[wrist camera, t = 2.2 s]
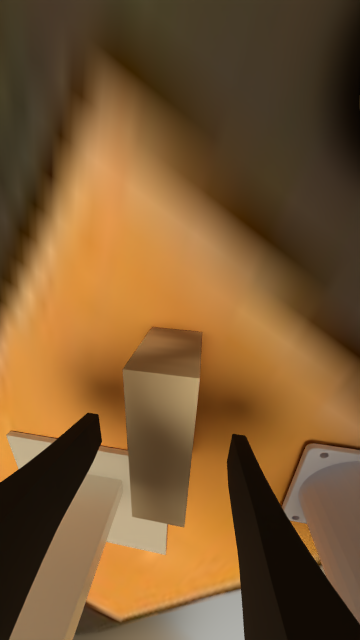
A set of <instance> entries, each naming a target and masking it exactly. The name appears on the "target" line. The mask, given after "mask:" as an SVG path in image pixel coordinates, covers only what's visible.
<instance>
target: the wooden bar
mask: <svg viewBox="0 0 360 640" xmlns="http://www.w3.org/2000/svg"><path fill="white" fill-rule="evenodd" d="M201 347H202V332H198V331H187V330H177V329H167V328H157V327H152V328H151V329H150V330H149V332H148V333H147V335H146V336H145V338H144V339H143V341H142V342H141V344H140V345H139V346H138V348H137V349H136V351H135V352H134V354H133V355H132V357H131V358H130V359H129V361H128V362H127V364H126V365H125V367H124V368H123V381H124V397H125V413H126V428H127V444H128V460H129V476H130V491H131V507H132V517H135V518H140V519H145V520H150V521H155V522H160V523H165V524H170V525H175V526H180V527H184V525H185V515H186V506H187V496H188V487H189V477H190V468H191V458H192V449H193V439H194V430H195V420H196V411H197V401H198V392H199V383H200V367H201Z"/></svg>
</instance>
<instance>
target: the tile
mask: <svg viewBox="0 0 360 640" xmlns="http://www.w3.org/2000/svg"><path fill="white" fill-rule="evenodd" d="M122 494H123V485H122V480H117V479H112V478H106V477H101V476H95V475H90V474H87V475H86V476H85V478H84V480H83V482H82V484H81V486H80V488H79V489H78V491H77V493H76V495H75V497H74V498H73V500H72V502H71V504H70V506H69V508H68V509H67V511H66V513H65V515H64V517H63V519H62V521H61V523H60V525H59V527H58V529H57V531H56V533H55V535H54V537H53V540H52V542H51V544H50V546H49V548H48V550H47V553H46V555H45V557H44V559H43V561H42V564H41V566H40V568H39V571H38V573H37V575H36V577H35V580H34V582H33V584H32V586H31V589H30V591H29V593H28V596H27V598H26V600H25V603H24V605H23V608H22V610H21V612H20V615H19V617H18V619H17V622H16V624H15V626H14V629H13V631H12V634H11V636H10V639H9V640H73V637H74V634H75V631H76V628H77V625H78V622H79V619H80V616H81V613H82V611H83V608H84V605H85V602H86V599H87V596H88V593H89V590H90V587H91V584H92V581H93V578H94V576H95V573H96V570H97V567H98V564H99V561H100V558H101V555H102V552H103V549H104V546H105V544H106V541H107V538H108V535H109V532H110V529H111V526H112V523H113V520H114V517H115V514H116V511H117V509H118V506H119V503H120V500H121V497H122Z"/></svg>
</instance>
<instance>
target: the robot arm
mask: <svg viewBox="0 0 360 640" xmlns="http://www.w3.org/2000/svg"><path fill="white" fill-rule="evenodd" d="M101 442H102V438H101V431H100V423H99V416H98V414H92V413H87V414H86V415H85V416H84V417H82V418H81V419H80V420H79V421H78V422H77V423H75V424H74V425H73V426H72V427H71V428H70V429H68V430H67V431H66V432H65V433H64V434H62V435H61V436H60V437H59V438H58V439H56V440H55V441H54V442H53V443H52V444H50V445H49V446H48V447H47V448H46V449H44V450H43V451H42V452H41V453H39V454H38V455H37V456H35V457H34V458H33V459H32V460H30V461H29V462H28V463H26V464H25V465H24V466H23V467H21V468H20V469H19V470H17V471H16V472H14V473H13V474H12V475H10V476H9V477H8V478H6V479H5V480H3V481H2V482H0V640H9V639H10V636H11V634H12V631H13V629H14V626H15V624H16V622H17V619H18V617H19V615H20V612H21V610H22V608H23V605H24V603H25V600H26V598H27V596H28V593H29V591H30V589H31V586H32V584H33V582H34V580H35V577H36V575H37V573H38V571H39V568H40V566H41V564H42V561H43V559H44V557H45V555H46V553H47V550H48V548H49V546H50V544H51V542H52V540H53V537H54V535H55V533H56V531H57V529H58V527H59V525H60V523H61V521H62V519H63V517H64V515H65V513H66V511H67V509H68V508H69V506H70V504H71V502H72V500H73V498H74V497H75V495H76V493H77V491H78V489H79V488H80V486H81V484H82V482H83V480H84V478H85V476H86V475H87V473H88V471H89V469H90V467H91V465H92V463H93V461H94V459H95V457H96V454H97V452H98V450H99V447H100V445H101ZM227 470H228V487H229V494H230V501H231V508H232V515H233V522H234V529H235V536H236V543H237V550H238V559H239V569H240V582H241V594H242V607H243V622H244V636H245V640H360V450H356V449H349V448H342V447H335V446H329V445H322V444H315V443H312V444H308V445H307V446H306V447H305V449H304V452H303V455H302V457H301V460H300V462H299V465H298V467H297V470H296V472H295V475H294V477H293V480H292V482H291V485H290V487H289V490H288V492H287V495H286V497H285V500H284V502H283V505H282V507H281V505H280V503H279V502H278V500H277V498H276V496H275V494H274V493H273V491H272V489H271V487H270V485H269V483H268V481H267V480H266V478H265V476H264V474H263V472H262V470H261V468H260V466H259V464H258V462H257V460H256V458H255V456H254V453H253V451H252V449H251V447H250V445H249V442H248V440H247V438H246V436H243V435H236V434H232V439H231V444H230V449H229V454H228V459H227ZM290 521H296V522H301V523H306V524H307V525H308V527H309V530H310V533H311V536H312V538H313V541H314V544H315V547H316V549H317V552H318V555H319V558H320V560H321V563H322V566H323V569H324V571H325V574H326V576H325V574H324V573H323V572H322V570H321V569H320V567H319V566H318V564H317V563H316V561H315V560H314V558H313V557H312V555H311V554H310V552H309V551H308V549H307V547H306V546H305V544H304V543H303V541H302V540H301V538H300V537H299V535H298V533H297V532H296V530H295V529H294V527H293V525H292V524H291V522H290Z"/></svg>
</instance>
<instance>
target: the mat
mask: <svg viewBox="0 0 360 640" xmlns="http://www.w3.org/2000/svg"><path fill="white" fill-rule="evenodd" d="M6 436H7V439H8V441H9V444H10V447H11V449H12V452H13V455H14V458H15V460H16V463H17V466H18V468H19V469H20V468H21V467H23V466H24V465H25V464H26V463H28V462H29V461H30V460H32V459H33V458H34V457H35V456H37V455H38V454H39V453H41V452H42V451H43V450H44V449H46V448H47V447H48V446H49V445H50V444H52V443H53V442H54V441H55V440H56V438H50V437H44V436H38V435H32V434H26V433H20V432H14V431H10V432H9V433H8V434H7V435H6ZM87 474H90V475H95V476H101V477H106V478H112V479H117V480H122V485H123V494H122V497H121V500H120V503H119V506H118V509H117V511H116V514H115V517H114V520H113V523H112V526H111V529H110V532H109V535H108V538H107V541H106V542H109V543H114V544H119V545H123V546H128V547H132V548H137V549H141V550H146V551H150V552H155V553H159V554H164V555H166V546H167V524H165V523H160V522H155V521H150V520H145V519H140V518H135V517H132V507H131V491H130V476H129V460H128V450H122V449H116V448H110V447H104V446H100V447H99V450H98V452H97V454H96V457H95V459H94V461H93V463H92V465H91V467H90V469H89V471H88V473H87Z"/></svg>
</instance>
